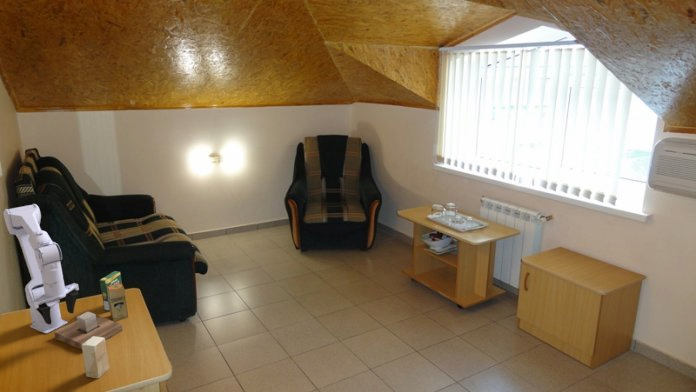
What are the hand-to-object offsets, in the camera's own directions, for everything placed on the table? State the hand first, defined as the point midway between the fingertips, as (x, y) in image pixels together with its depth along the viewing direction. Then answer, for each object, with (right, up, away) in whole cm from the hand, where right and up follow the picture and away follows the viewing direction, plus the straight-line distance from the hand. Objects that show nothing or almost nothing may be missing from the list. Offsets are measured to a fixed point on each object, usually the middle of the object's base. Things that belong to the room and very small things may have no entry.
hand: (59, 317), depth 159 cm
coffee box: (+6, -2, +26) cm, 27 cm away
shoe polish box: (+11, -4, +19) cm, 22 cm away
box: (+19, -14, -12) cm, 26 cm away
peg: (+6, -7, +7) cm, 12 cm away
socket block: (+6, -8, +7) cm, 12 cm away
